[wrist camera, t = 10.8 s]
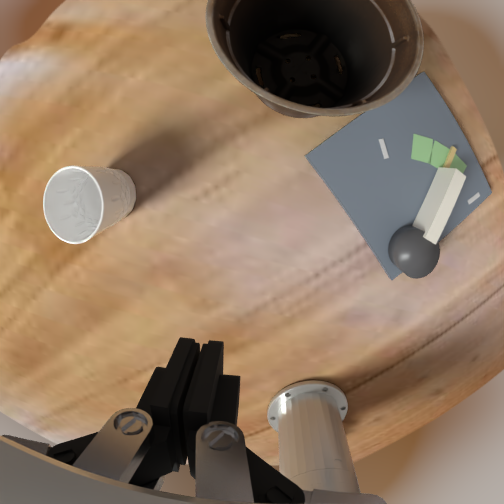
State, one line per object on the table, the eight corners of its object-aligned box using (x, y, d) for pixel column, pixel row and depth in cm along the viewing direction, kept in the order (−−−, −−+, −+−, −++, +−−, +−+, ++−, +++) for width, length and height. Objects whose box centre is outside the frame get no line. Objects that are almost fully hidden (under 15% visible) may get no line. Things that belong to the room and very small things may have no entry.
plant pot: (259, 156, 35) (257, 148, 20) (209, 40, 32) (176, -27, 16) (384, 113, 33) (455, 88, 18) (330, 4, 30) (363, -68, 14)
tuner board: (487, 191, 35) (492, 192, 34) (389, 277, 39) (392, 280, 38) (420, 73, 31) (424, 71, 30) (304, 156, 35) (305, 155, 34)
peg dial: (413, 275, 37) (427, 287, 33) (380, 258, 37) (392, 268, 33) (467, 159, 33) (485, 160, 29) (437, 135, 32) (454, 134, 28)
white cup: (98, 155, 36) (53, 156, 26) (149, 176, 36) (113, 180, 27) (81, 211, 38) (36, 226, 28) (129, 234, 38) (92, 256, 29)
